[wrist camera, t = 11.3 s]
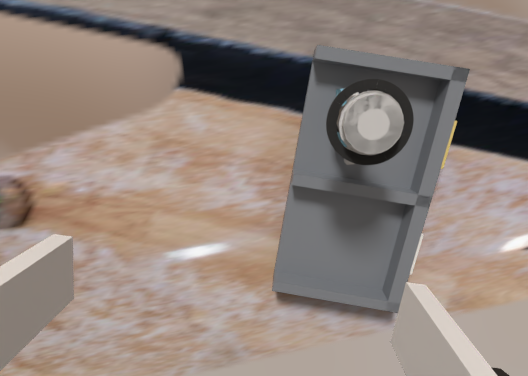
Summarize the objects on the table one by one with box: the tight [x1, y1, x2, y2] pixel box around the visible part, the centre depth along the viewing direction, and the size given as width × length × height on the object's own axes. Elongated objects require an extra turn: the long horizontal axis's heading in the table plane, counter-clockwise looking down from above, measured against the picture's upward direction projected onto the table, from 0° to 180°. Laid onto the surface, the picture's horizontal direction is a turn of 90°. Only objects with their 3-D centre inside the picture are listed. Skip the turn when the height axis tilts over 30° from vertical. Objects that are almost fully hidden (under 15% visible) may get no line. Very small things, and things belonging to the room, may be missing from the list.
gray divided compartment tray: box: [272, 45, 470, 313], centre depth 31 cm, size 12×22×3 cm, turn 171°
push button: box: [326, 79, 414, 165], centre depth 26 cm, size 7×5×10 cm
